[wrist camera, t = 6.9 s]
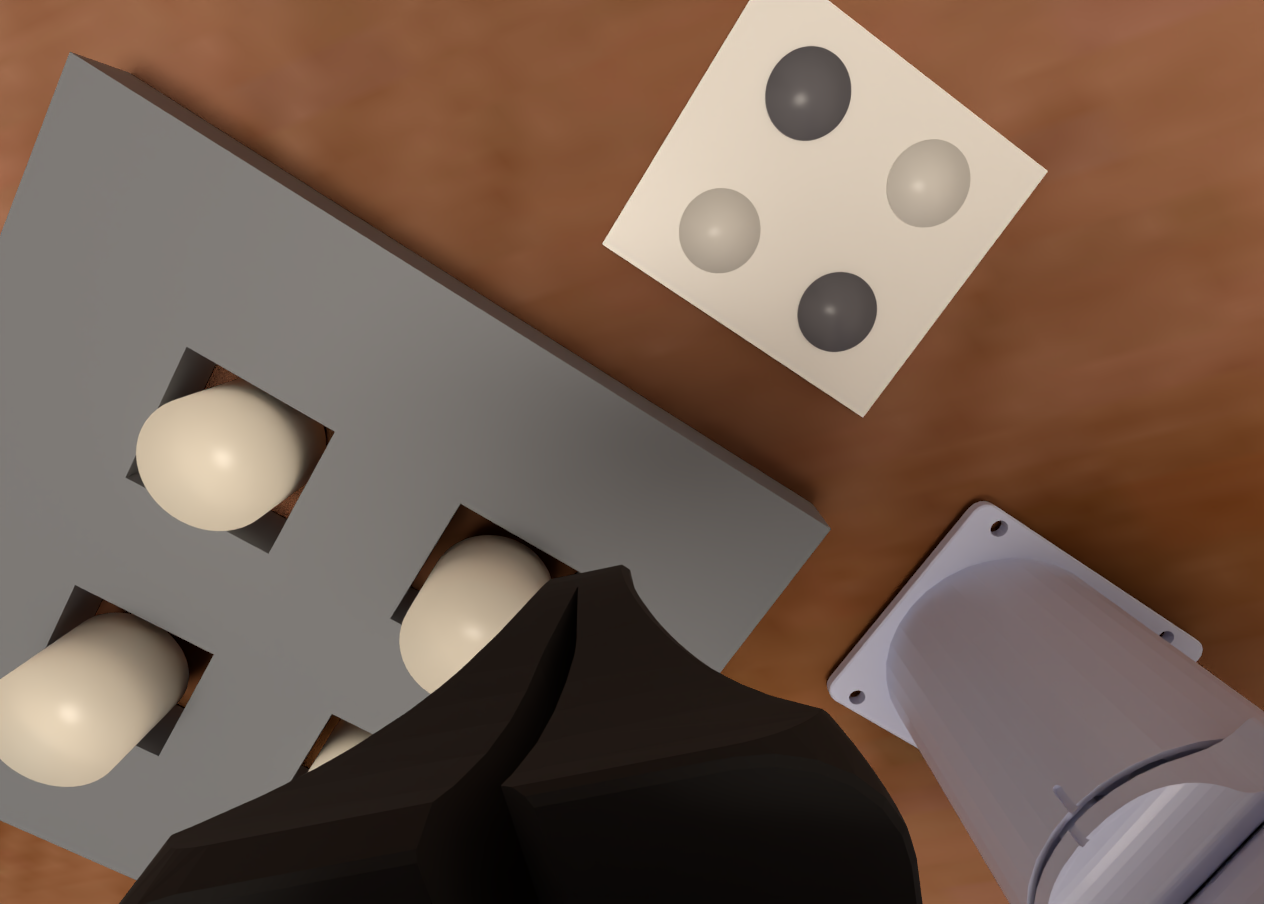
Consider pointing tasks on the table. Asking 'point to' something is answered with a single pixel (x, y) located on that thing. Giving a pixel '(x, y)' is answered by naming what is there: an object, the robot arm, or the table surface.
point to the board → (344, 477)
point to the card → (822, 197)
